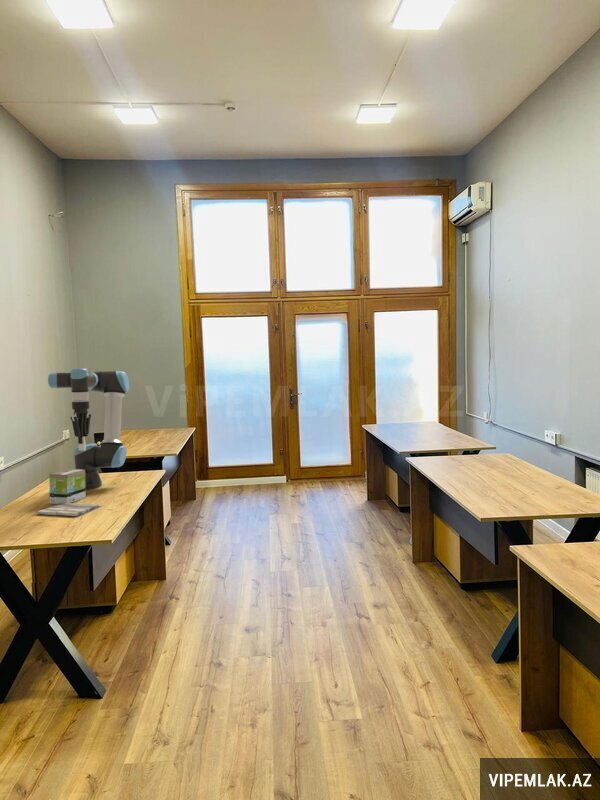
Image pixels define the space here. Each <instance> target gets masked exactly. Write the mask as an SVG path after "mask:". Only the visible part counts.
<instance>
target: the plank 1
mask: <svg viewBox="0 0 600 800" xmlns="http://www.w3.org/2000/svg"><path fill="white" fill-rule="evenodd" d="M65 509H68V508H51V506H49V507H47V508H43V509H40V510H37V513H36V514H48V515H57V512H59V511H62V510H65Z"/></svg>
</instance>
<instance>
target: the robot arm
mask: <svg viewBox="0 0 600 800" xmlns="http://www.w3.org/2000/svg"><path fill="white" fill-rule="evenodd" d="M47 383H48V386H49V387H50V388H52V389H71V400H72V402H71V409H72V410H73V411H74V412H73V416H70V418H69V419H70V420H71V422H72V423H71V424H72V429H73V433H74V436H75V437H76V438H77V440H78V441H77V442H78V446H76V447H75V449H74V455H73V456H74V469H79V470H85V490H92V489H96V488H100V487H102V486H103V481H102V479H101V476H100V473H99V468H112V469H114V468H120V467H122V466H124V463H125V461H126V457H127V448H126V446H125V445H124V443H123V442H122V441H121V433H122V432H121V431H122V413H123V412H122V410H123V399H124V397H125V396H126V393H128V392H129V391H130V380H129V377H128V374H127V373H126V372H124V371H123V370H122V371H121V370H120V371H119V370H115V371H114V370H113V371H111V370H108V371H101V370H100V371H92V372H91V371H88V368H71V370H70V372H51V373H49V375H48V376H47ZM90 392H98V393H103V395H104V397H105V410H104V411H105V415H104V433H103V434H104V435H103V440H102V441H101V442H100V446H98V443H86V442H87V437H89V434H90V424H91V417H92V414H90V413H89V411H88V410H89V409H90V401H89V400H90V395H89V394H90Z"/></svg>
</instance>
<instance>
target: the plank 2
mask: <svg viewBox="0 0 600 800" xmlns="http://www.w3.org/2000/svg"><path fill="white" fill-rule="evenodd" d="M86 512H87V509H69V508H68V509H65V510H62V511H59V512H57V515H66V516H77V515H80V514H83V513H86Z"/></svg>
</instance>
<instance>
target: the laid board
mask: <svg viewBox="0 0 600 800" xmlns="http://www.w3.org/2000/svg"><path fill="white" fill-rule="evenodd" d="M98 506H99V504H95V503H94V504H93V503H74V502H71V503H59V504H53V505H52V506H50V507H51V508H69V509H87V512H89V511H91V510H93V509H95V508H98ZM98 509H99V508H98ZM93 511H94V510H93ZM91 512H92V511H91ZM89 513H90V512H89Z"/></svg>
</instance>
